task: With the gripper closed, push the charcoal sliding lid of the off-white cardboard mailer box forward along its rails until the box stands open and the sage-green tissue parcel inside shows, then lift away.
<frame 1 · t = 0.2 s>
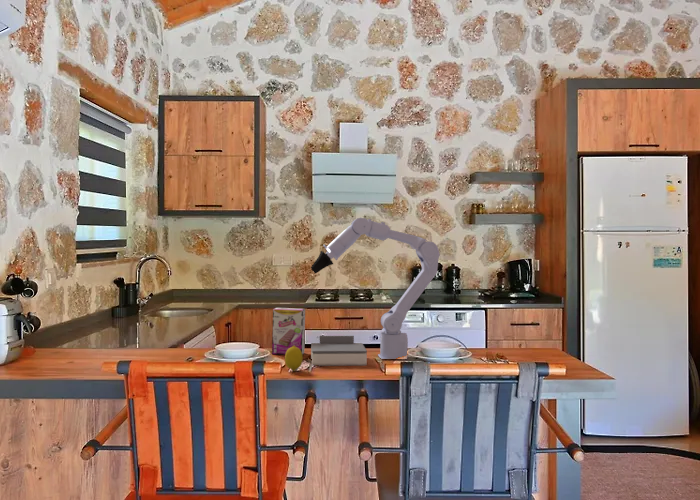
hand: (312, 270, 197), 31 cm above the counter, tool tilted 45°, fingers open, 7 cm apart
lemon: (293, 371, 177), on the counter
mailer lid: (338, 343, 192), point 6 cm above the counter, slide at 0.0 cm
mailer box: (337, 361, 192), on the counter
candy bar box: (288, 354, 204), on the counter
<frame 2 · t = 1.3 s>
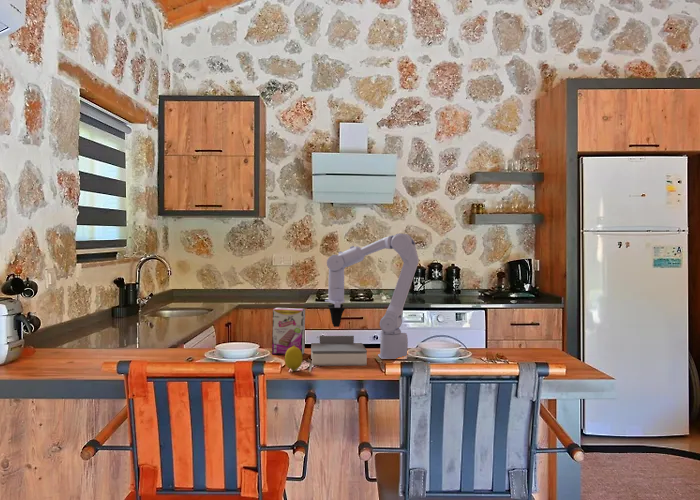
hand: (335, 325, 205), 10 cm above the counter, tool pointing down, fingers open, 6 cm apart
nothing on the counter moved.
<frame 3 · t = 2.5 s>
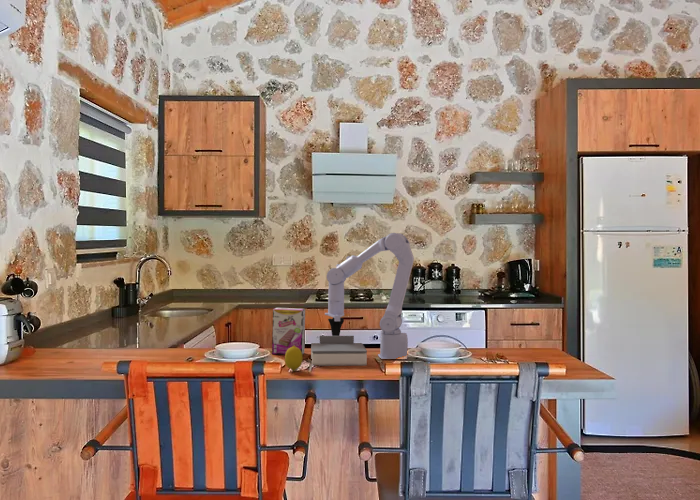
hand: (335, 338, 205), 6 cm above the counter, tool pointing down, fingers closed
nothing on the counter moved.
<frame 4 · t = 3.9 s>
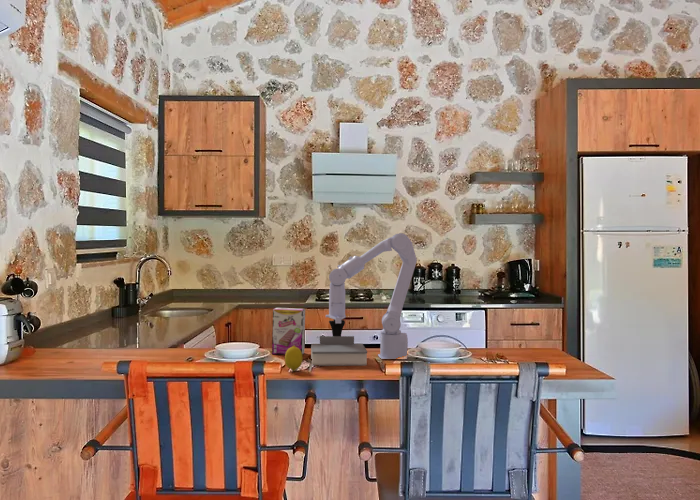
hand: (336, 341, 199), 6 cm above the counter, tool pointing down, fingers closed
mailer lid: (338, 344, 191), point 6 cm above the counter, slide at 1.1 cm, touching gripper
everything else where it was.
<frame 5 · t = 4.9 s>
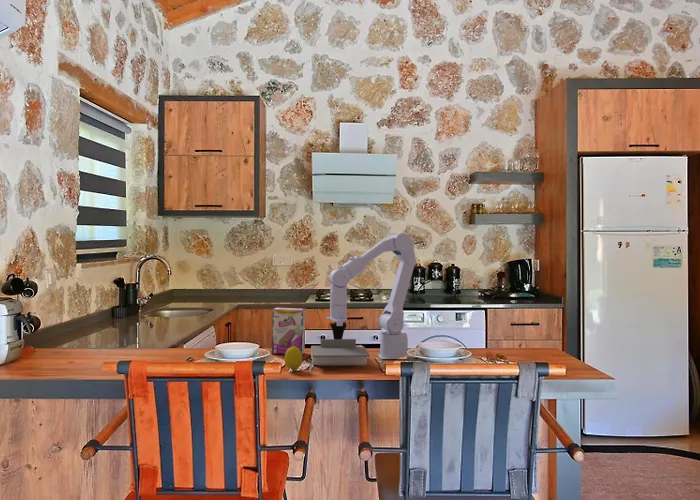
hand: (337, 344, 194), 6 cm above the counter, tool pointing down, fingers closed
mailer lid: (339, 347, 185), point 6 cm above the counter, slide at 7.0 cm, touching gripper
everything else where it was.
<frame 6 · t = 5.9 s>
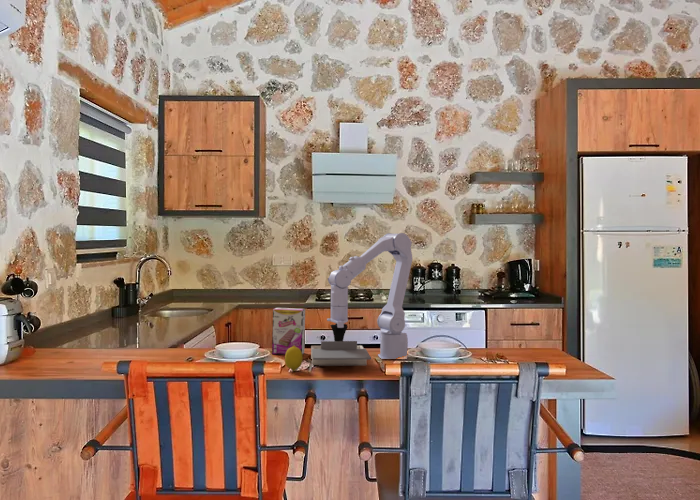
hand: (338, 346, 190), 6 cm above the counter, tool pointing down, fingers closed
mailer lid: (340, 349, 182), point 6 cm above the counter, slide at 10.7 cm, touching gripper
everything else where it was.
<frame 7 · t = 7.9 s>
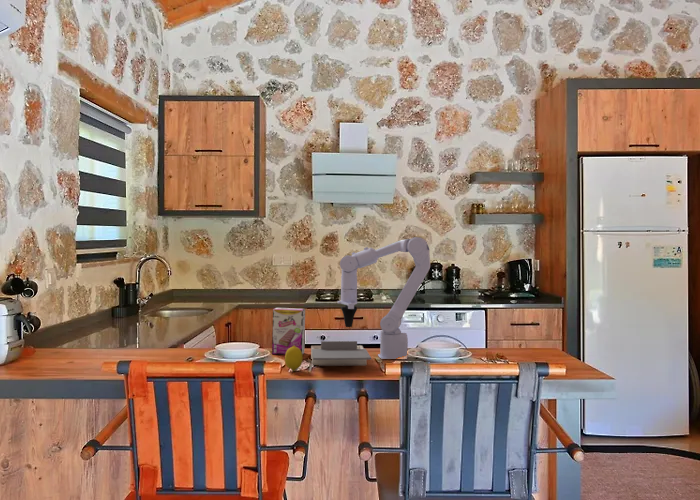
hand: (348, 326, 202), 10 cm above the counter, tool pointing down, fingers closed
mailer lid: (340, 350, 181), point 6 cm above the counter, slide at 10.9 cm
everything else where it was.
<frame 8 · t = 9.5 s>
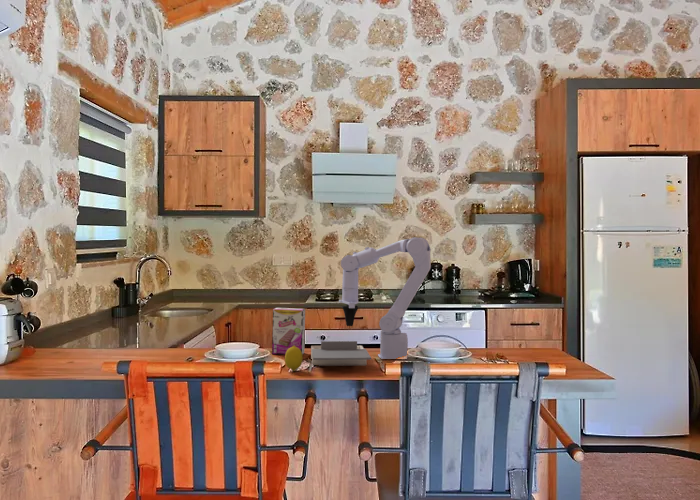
hand: (349, 325, 204), 10 cm above the counter, tool pointing down, fingers closed
nothing on the counter moved.
at the end: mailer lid slide at 10.9 cm; lemon moved 0.2 cm from its start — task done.
